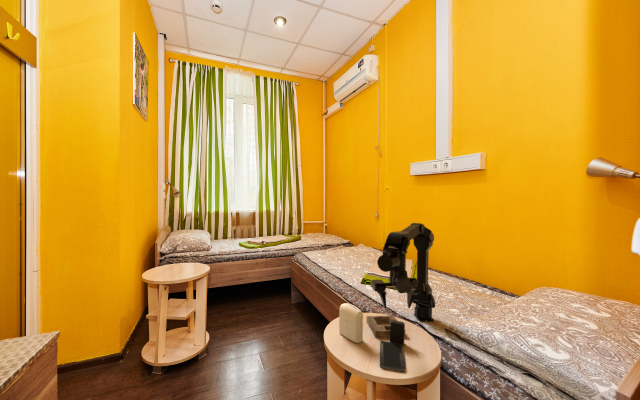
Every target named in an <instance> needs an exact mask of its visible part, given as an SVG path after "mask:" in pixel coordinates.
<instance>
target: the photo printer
mask: <svg viewBox="0 0 640 400" xmlns="http://www.w3.org/2000/svg"><path fill="white" fill-rule="evenodd" d="M338 312H339V314H338V315H339V317H338V318H339V320H338V327H339V328H338V330H339V334H341V335H342V336H343V337H345V338H347V339H348V340H349V341H351V342H354V343H357V344H360V343H361V342H362V341H363V339H364V334H363V333H364V328H363V327H364V326H363V325H364V321H363V319H364V314H363V311H362V310H361V309H360V308H358V307H357V306H355V305H353V304H351V303H347V302H346V303H342V304H341V305H340V306H339V311H338Z"/></svg>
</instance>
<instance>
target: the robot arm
mask: <svg viewBox="0 0 640 400" xmlns="http://www.w3.org/2000/svg"><path fill="white" fill-rule="evenodd" d="M412 240H413V242H412V243H413V246H414V247H415V249H416V251H417V252H416V254H417V255H416V277H409V276H408V271H407V269H406V268H407V266H406V265H407V263H406V262H407V254H408V248H409V246H411V241H412ZM434 241H435V235H434V233H433V231H432V230H431V229H429V228H428V227H426V225H424V224H423V223H421V222H420V223H419V222H411V223H410V225H408V226H407V227H405V228H404V229H402V230H398V231H391V232H389V234H388V235H387V236H386V239H385V242H384V245H383V248H382V255H379V257H378V258H377V261H376V263H377V268H379V269H380V271H382V272H384V273H389V277H388V278H387V279H388V281H389V282H385V281H384V280H382V279H372V280H371V281H370V287H371V288H372V289H373V291H374V292H376V293H378V295H379V297H380V299H381V303H382V306H383V309H387V292H386V291H387V289H393V288H394V289H396V290H397V293H399V294H406V296H407V297H406V303H407V304H406V305H407V308H408V309H411V306H412V305H413V304H415V306H414V312H413V316H414V317H415V318H416V319H417V320H418V321H419V322H434V319H433V309H435V308H436V299H435V296H434V295H433V289H432V287H431V285H430V284H429V255H430V253H429V252H430V249H431V248H432V247H433V244H434Z"/></svg>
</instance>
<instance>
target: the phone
mask: <svg viewBox="0 0 640 400" xmlns="http://www.w3.org/2000/svg"><path fill="white" fill-rule="evenodd" d="M379 347H380V348H379V368H380V369H382V370H385V371H386V370H387V371H391V372H397V373H405V372H406V362H405V356H404V348H403V347H404V346H402V344H399V343H393V342H390V341H385V340H381V341H380V343H379Z"/></svg>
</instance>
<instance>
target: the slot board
mask: <svg viewBox="0 0 640 400" xmlns="http://www.w3.org/2000/svg"><path fill="white" fill-rule="evenodd" d="M365 320H366V324H367V325H368V327H369V328H370V331H371V333H372V335H373V336H374V338H376V339H378V338H390V324H391V320H396V321H398V319H397V318H396V317H395V316H394V315H393V314H392V315H368V316H366V319H365ZM378 322H385V323H388V322H389V323H388V324H379V323H378ZM405 337H406V332H405V333H404V338H405Z"/></svg>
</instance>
